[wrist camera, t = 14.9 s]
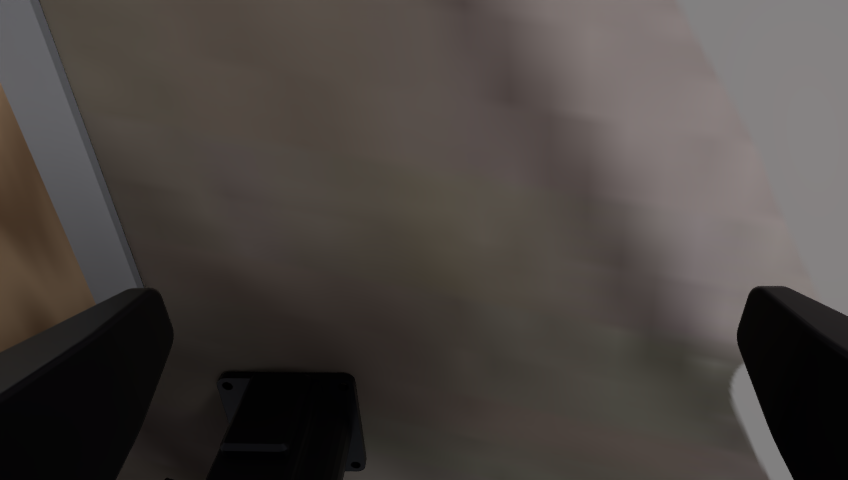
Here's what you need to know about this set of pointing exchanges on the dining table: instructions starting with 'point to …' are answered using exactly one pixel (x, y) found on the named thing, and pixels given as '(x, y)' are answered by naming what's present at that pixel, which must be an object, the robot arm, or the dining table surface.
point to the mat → (62, 149)
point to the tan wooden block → (32, 246)
